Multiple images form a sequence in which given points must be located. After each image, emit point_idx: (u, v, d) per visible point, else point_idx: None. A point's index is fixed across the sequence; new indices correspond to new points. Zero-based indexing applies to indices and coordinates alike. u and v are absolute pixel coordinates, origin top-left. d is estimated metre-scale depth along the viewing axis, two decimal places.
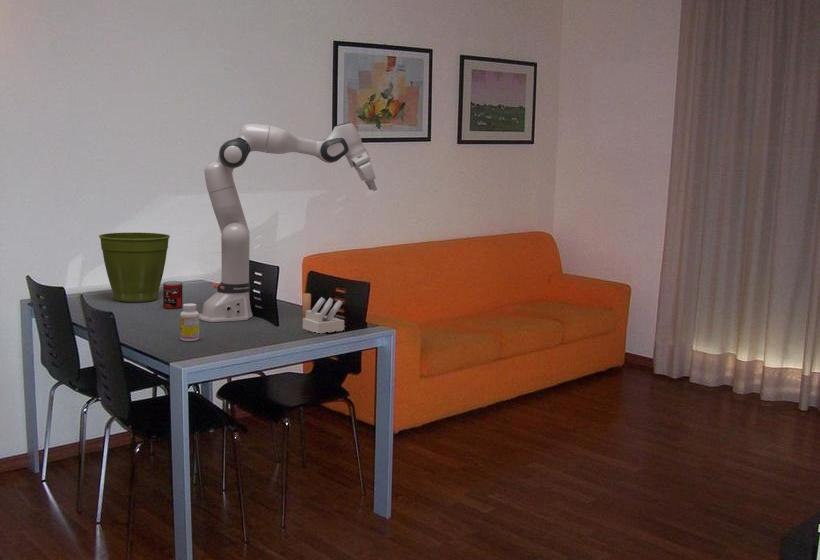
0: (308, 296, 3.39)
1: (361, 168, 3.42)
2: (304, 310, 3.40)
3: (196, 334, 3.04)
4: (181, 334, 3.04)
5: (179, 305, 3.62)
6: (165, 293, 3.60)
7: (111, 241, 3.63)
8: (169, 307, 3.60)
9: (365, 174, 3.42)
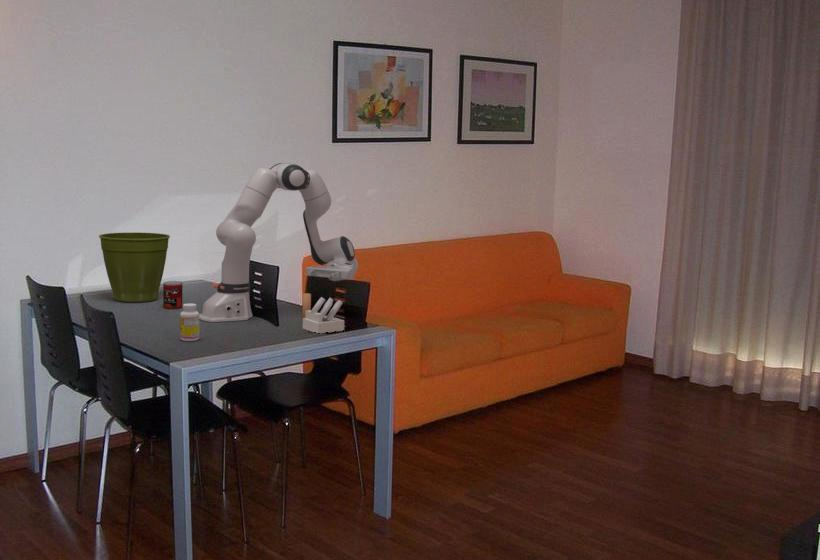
0: (308, 296, 3.39)
1: (352, 268, 3.57)
2: (304, 310, 3.40)
3: (196, 334, 3.04)
4: (181, 334, 3.04)
5: (179, 305, 3.62)
6: (165, 293, 3.60)
7: (111, 241, 3.63)
8: (169, 307, 3.60)
9: (351, 270, 3.54)
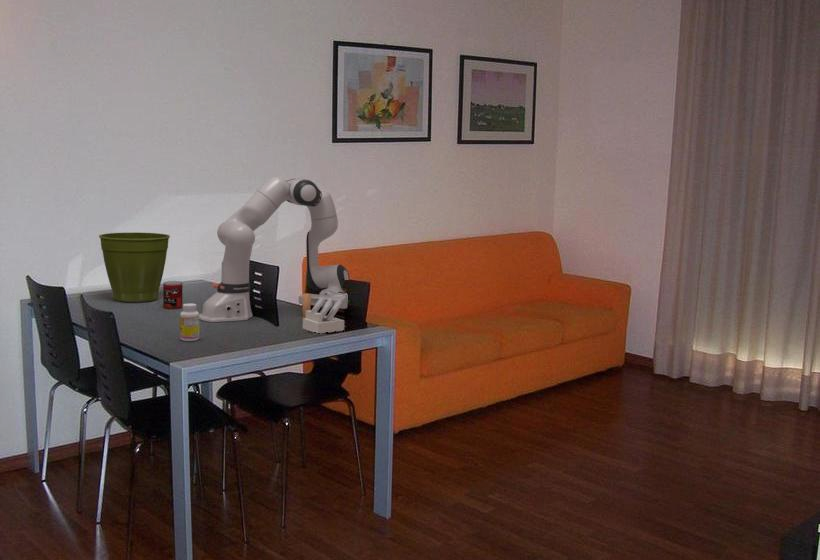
0: (308, 296, 3.39)
1: (346, 297, 3.54)
2: (304, 310, 3.40)
3: (196, 334, 3.04)
4: (181, 334, 3.04)
5: (179, 305, 3.62)
6: (165, 293, 3.60)
7: (111, 241, 3.63)
8: (169, 307, 3.60)
9: (344, 299, 3.52)
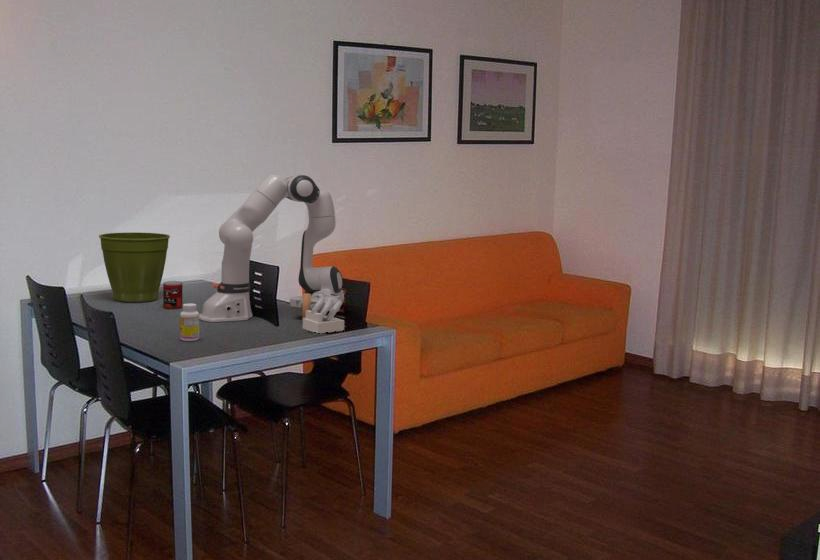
0: (308, 296, 3.39)
1: None
2: (304, 310, 3.40)
3: (196, 334, 3.04)
4: (181, 334, 3.04)
5: (179, 305, 3.62)
6: (165, 293, 3.60)
7: (111, 241, 3.63)
8: (169, 307, 3.60)
9: None
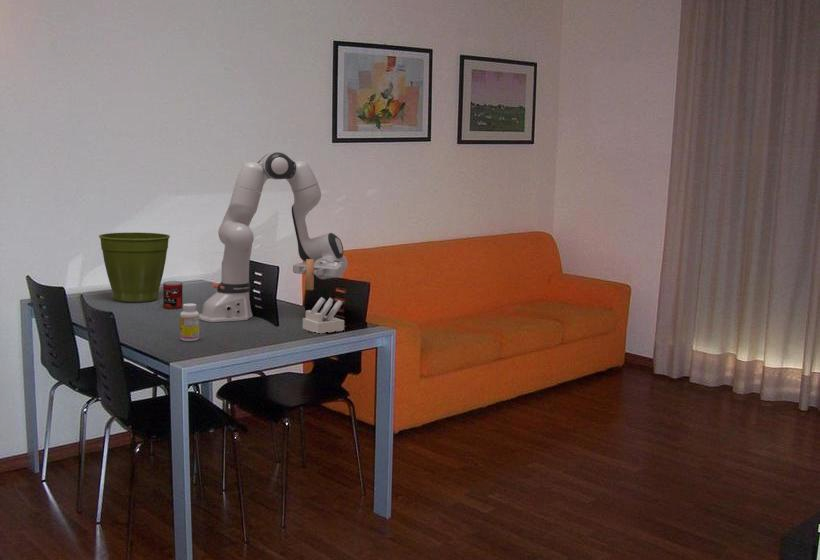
0: (311, 261, 3.37)
1: (341, 266, 3.44)
2: (307, 276, 3.37)
3: (196, 334, 3.04)
4: (181, 334, 3.04)
5: (179, 305, 3.62)
6: (165, 293, 3.60)
7: (111, 241, 3.63)
8: (169, 307, 3.60)
9: (340, 268, 3.42)
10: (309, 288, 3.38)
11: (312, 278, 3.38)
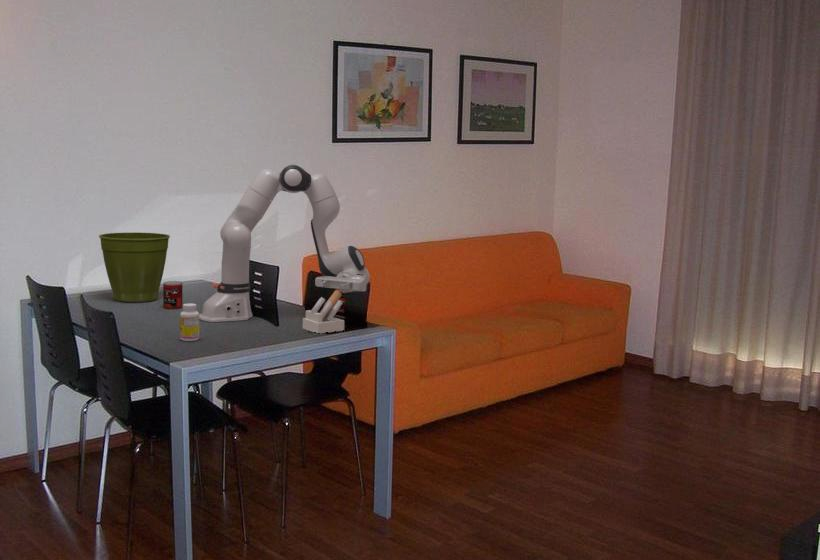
0: (339, 294, 3.34)
1: (365, 280, 3.38)
2: None
3: (196, 334, 3.04)
4: (181, 334, 3.04)
5: (179, 305, 3.62)
6: (165, 293, 3.60)
7: (111, 241, 3.63)
8: (169, 307, 3.60)
9: (363, 281, 3.35)
10: None
11: (330, 308, 3.31)
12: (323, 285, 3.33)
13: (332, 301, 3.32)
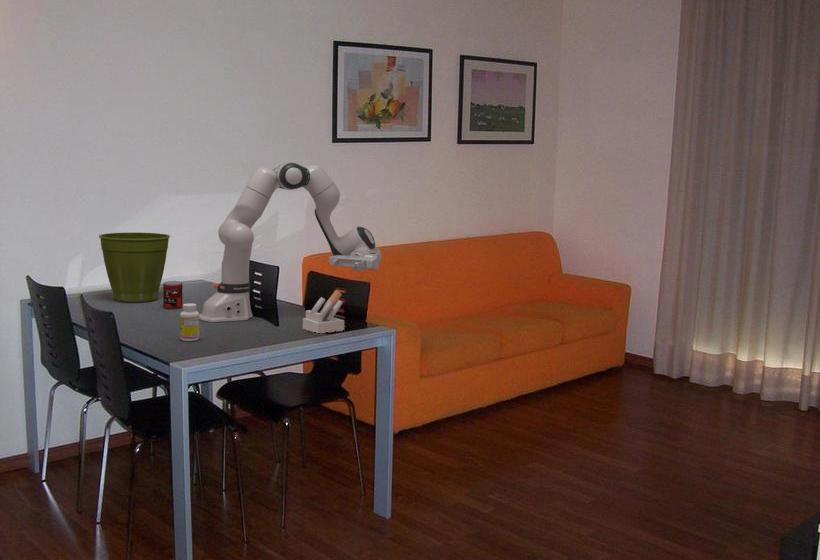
0: (339, 294, 3.34)
1: (377, 258, 3.48)
2: None
3: (196, 334, 3.04)
4: (181, 334, 3.04)
5: (179, 305, 3.62)
6: (165, 293, 3.60)
7: (111, 241, 3.63)
8: (169, 307, 3.60)
9: (376, 260, 3.45)
10: None
11: (330, 308, 3.31)
12: (335, 263, 3.43)
13: (332, 301, 3.32)
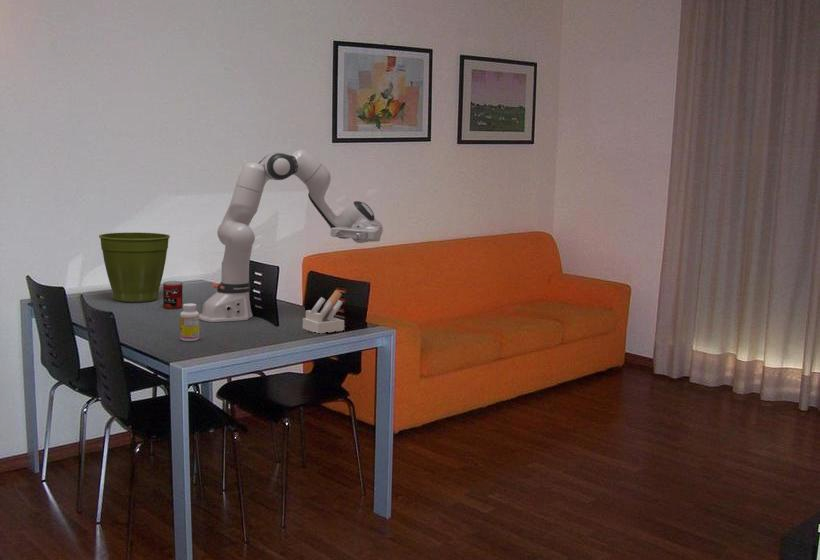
0: (339, 294, 3.34)
1: (379, 229, 3.47)
2: None
3: (196, 334, 3.04)
4: (181, 334, 3.04)
5: (179, 305, 3.62)
6: (165, 293, 3.60)
7: (111, 241, 3.63)
8: (169, 307, 3.60)
9: (377, 231, 3.44)
10: None
11: (330, 308, 3.31)
12: (337, 234, 3.42)
13: (332, 301, 3.32)
